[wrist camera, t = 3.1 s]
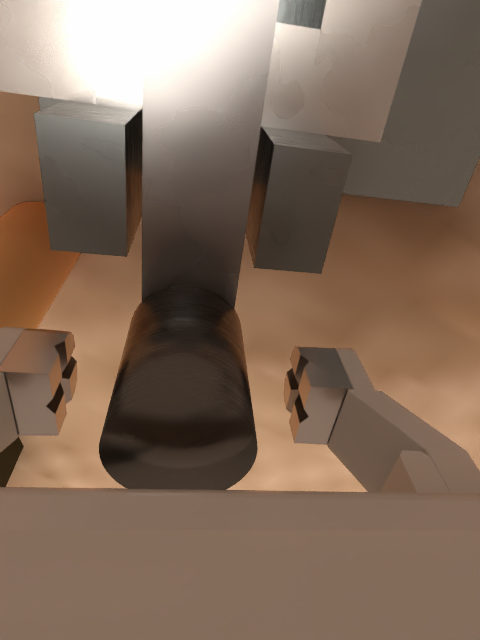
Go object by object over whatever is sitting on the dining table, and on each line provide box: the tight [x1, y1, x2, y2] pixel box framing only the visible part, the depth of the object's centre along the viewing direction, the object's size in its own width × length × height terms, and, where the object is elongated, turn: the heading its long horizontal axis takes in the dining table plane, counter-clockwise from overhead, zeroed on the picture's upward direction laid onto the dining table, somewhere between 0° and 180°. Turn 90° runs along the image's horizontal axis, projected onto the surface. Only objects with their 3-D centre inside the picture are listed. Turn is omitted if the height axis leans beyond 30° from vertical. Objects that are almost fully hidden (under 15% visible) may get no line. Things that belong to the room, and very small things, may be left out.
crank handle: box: [99, 0, 279, 490], centre depth 8 cm, size 3×14×6 cm, turn 173°
